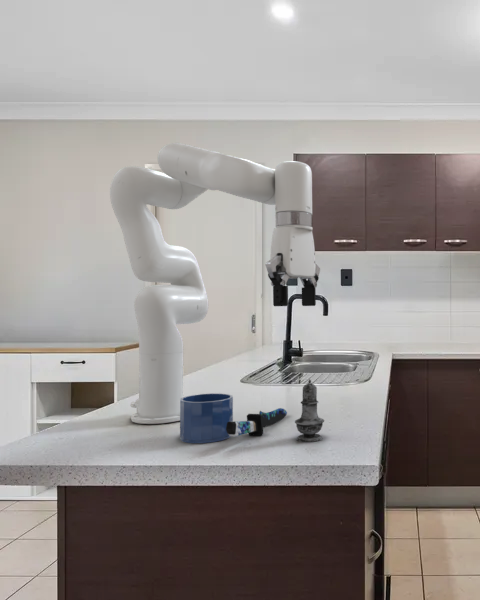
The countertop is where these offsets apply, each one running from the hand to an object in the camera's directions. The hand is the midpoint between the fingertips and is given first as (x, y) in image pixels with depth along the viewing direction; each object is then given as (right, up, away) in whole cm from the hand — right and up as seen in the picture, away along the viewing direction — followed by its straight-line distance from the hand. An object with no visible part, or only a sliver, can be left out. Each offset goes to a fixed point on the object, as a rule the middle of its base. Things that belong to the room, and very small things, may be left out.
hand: (295, 306), depth 106 cm
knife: (-8, -27, +3) cm, 28 cm away
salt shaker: (+3, -27, -2) cm, 27 cm away
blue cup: (-18, -27, -1) cm, 32 cm away
